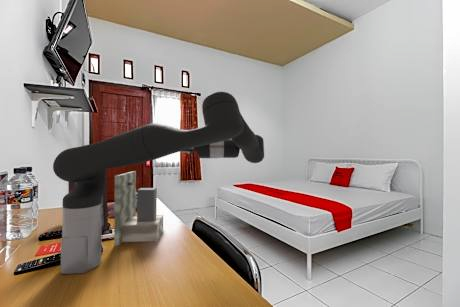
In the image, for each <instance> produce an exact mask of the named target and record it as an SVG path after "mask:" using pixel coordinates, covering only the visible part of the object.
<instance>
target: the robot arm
mask: <svg viewBox="0 0 460 307" xmlns="http://www.w3.org/2000/svg"><path fill="white" fill-rule="evenodd" d="M201 108H202V117H203V121H204V126H202V127H201V126H200V127H197V128H193V129H181V128H178V127H173V126H171V125H166V124H162V123H153V122H151V123H148V124H145V125H141V126H139V127H135V128H133V129H130V130H128V131H125V132H122V133H119V134H116V135H114V136H110V137H108V138H105V139H104V140H100V141H97V142H95V143H94V142H93V143H91V144H86V145H81V146H77V147H76V146H75V147H71V148H70V147H69V148H67V149H64V150H62V151H61V152H60V153H59V154H57V156H56V157H55V158H54V161H53V162H52V163H53V164H52V170H53V172H54V174H55V176H56V177H57V178H59V179H60V180H62V181H64V182H76V185H75V187H74V189H73V190H72V191H71V192H69V193H67V194H65V195H64V196H63V198H62V230H61V231H62V233H61V234H62V235H61V239H60V275H70V274H85V273H87V272H88V271H90V270H92V269H95V268H97V267H98V266H99V265H100V264H101V263H102V232H101V213H102V196H103V194H104V191H105V179H106V169H107V170H108V169H113V168H114V169H115V168H121V167H127V166H133V165H140V164H143V163H148V162H151V161H154V160H157V159H160V158H163V157H167V156H169V155H172V154H175V153H179V152H180V153H183V154H184V153H187V154H193V153H194V152H197V158H198V159H223V158H224V159H225V158H226V159H227V158H228V159H231V158H232V159H234V158H238V157H239V156H240V155H239V154H240V151H241V153H242V155H243V157H244V159H245V160H246V161H247V162H249V163H252V164H257V163H261V162H262V161H263V160H264V158H265V143H264V138H263V137H262V136H261V135H258V134H255V132H254V131H253V130H252V129H251V128H250V126H249V125H248V123H247V122H246V120H245V118H244V117H243V116H242V114H241V110H240V107H239V103H238V101H237V100H236V98H235V97H234V95H232V94H231V93H229V92H226V91H216V92H213V93H210V94H208V95H207V96H206V97H204V99H203V101H202V104H201Z"/></svg>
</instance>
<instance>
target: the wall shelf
mask: <svg viewBox="0 0 460 307" xmlns="http://www.w3.org/2000/svg"><path fill="white" fill-rule="evenodd" d="M136 193H137V171H136V170H133V171H132V170H131V171H128V172H125V173H121V174H116V175H114V203H115V216H114V223H113V224H114V235H113V238H114V239H113V240H114V241H113V242H114V243H113V244H114V245H113V246H114V247H115V246H116V247H117V246H120V245H121V244H122V243H136V242H137V243H139V242H158V239H159V237H160V235H161V234H162V232H163V231H164V215H163V214H158V215H157V214H156V219H155V220H154V221H153V222H137V215H136V214H137V212H136V211H137V209H136Z"/></svg>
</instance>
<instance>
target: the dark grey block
mask: <svg viewBox="0 0 460 307" xmlns="http://www.w3.org/2000/svg"><path fill="white" fill-rule="evenodd" d="M136 193H137V209H136V211H137V212H136V214H137V215H136V216H137V222H153V221H154V220H155V219H156V215H157V194H158V193H157V187H140V188H138V189H136Z"/></svg>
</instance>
